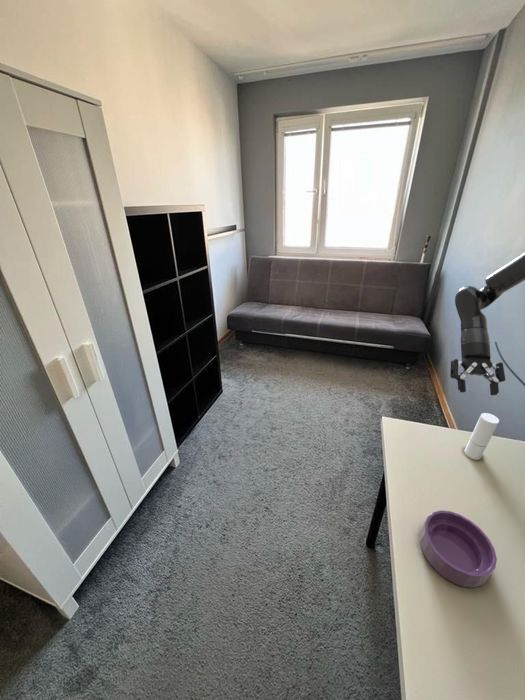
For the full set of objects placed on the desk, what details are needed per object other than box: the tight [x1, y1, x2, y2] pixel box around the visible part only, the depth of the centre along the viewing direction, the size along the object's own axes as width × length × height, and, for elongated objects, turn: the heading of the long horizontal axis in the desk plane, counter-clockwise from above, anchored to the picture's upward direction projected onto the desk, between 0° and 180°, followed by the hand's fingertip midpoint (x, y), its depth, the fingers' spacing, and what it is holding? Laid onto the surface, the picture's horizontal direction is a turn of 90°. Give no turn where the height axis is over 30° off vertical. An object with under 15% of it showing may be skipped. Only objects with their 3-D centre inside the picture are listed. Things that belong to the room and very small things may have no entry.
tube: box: [464, 412, 500, 461], centre depth 84 cm, size 4×4×15 cm
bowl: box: [419, 509, 498, 589], centre depth 62 cm, size 13×13×6 cm
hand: (478, 393), depth 87 cm, fingers open, 8 cm apart
